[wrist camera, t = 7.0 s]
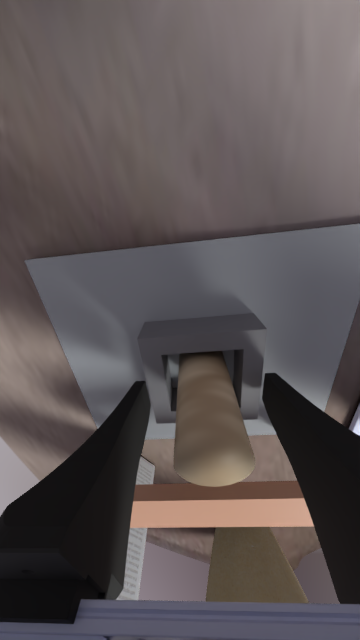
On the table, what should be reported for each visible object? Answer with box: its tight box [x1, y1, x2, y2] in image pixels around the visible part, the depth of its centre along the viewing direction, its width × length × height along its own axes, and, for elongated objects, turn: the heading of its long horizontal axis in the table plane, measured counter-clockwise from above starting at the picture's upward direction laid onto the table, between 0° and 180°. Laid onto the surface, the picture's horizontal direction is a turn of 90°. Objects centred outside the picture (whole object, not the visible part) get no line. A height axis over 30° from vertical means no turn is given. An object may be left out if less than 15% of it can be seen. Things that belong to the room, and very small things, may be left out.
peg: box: [174, 351, 255, 487], centre depth 11 cm, size 3×3×7 cm
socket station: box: [24, 223, 360, 528], centre depth 12 cm, size 20×17×7 cm
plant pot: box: [206, 527, 309, 603], centre depth 20 cm, size 15×15×16 cm
